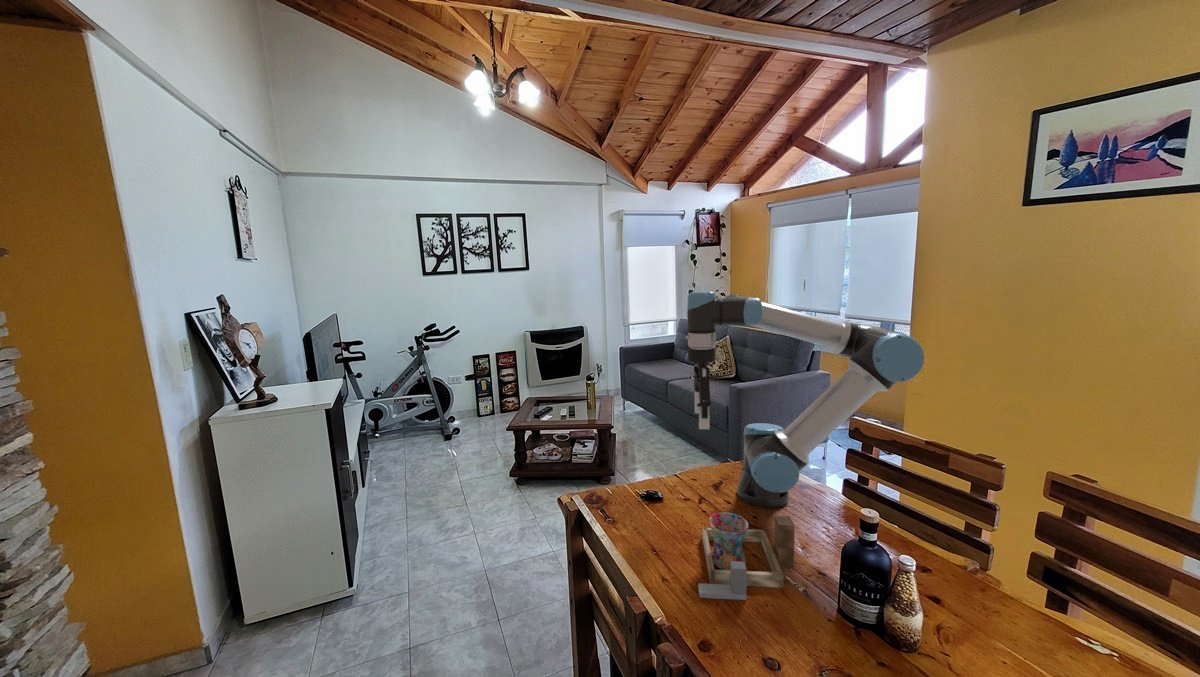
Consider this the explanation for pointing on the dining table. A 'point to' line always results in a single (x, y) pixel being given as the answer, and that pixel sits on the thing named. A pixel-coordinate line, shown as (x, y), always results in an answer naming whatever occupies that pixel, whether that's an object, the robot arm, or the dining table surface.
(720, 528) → the mug
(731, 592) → the grey l-shaped block
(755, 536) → the open square frame
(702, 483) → the dining table surface
